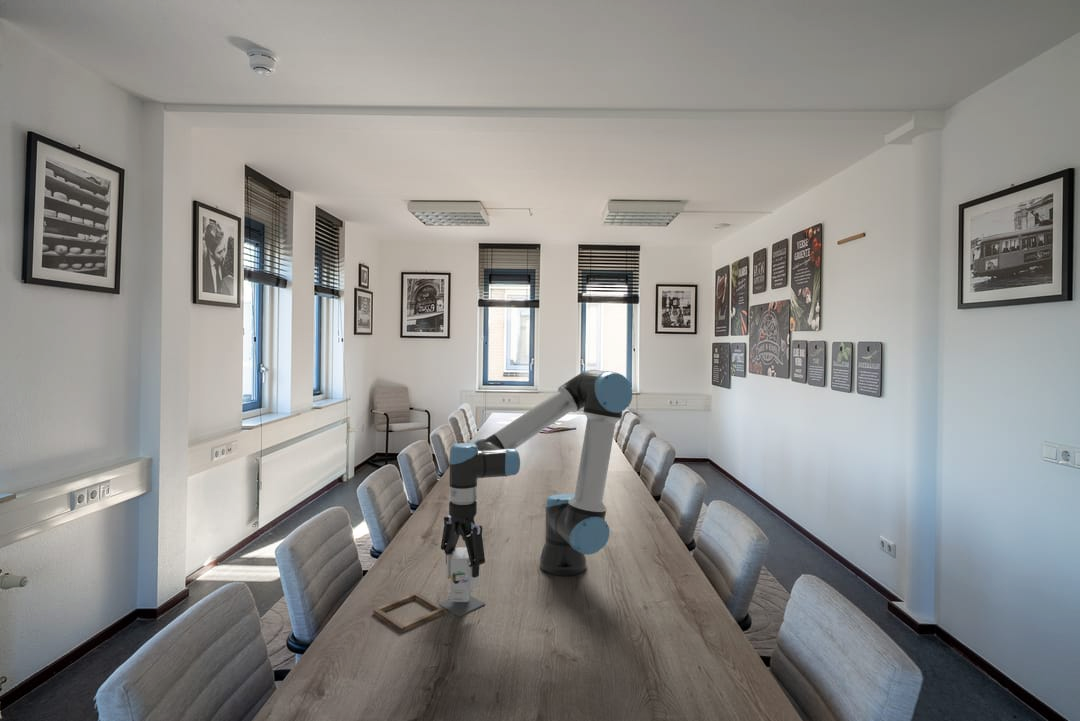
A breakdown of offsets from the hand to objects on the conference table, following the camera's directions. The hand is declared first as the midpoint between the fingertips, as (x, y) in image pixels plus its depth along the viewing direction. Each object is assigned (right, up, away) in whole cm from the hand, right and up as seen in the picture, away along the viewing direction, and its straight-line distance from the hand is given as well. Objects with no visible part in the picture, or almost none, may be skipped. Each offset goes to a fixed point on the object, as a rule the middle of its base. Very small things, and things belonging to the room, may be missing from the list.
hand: (461, 582), depth 143 cm
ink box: (0, -4, 0) cm, 4 cm away
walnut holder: (-13, -6, -5) cm, 15 cm away
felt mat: (0, -6, 0) cm, 6 cm away
